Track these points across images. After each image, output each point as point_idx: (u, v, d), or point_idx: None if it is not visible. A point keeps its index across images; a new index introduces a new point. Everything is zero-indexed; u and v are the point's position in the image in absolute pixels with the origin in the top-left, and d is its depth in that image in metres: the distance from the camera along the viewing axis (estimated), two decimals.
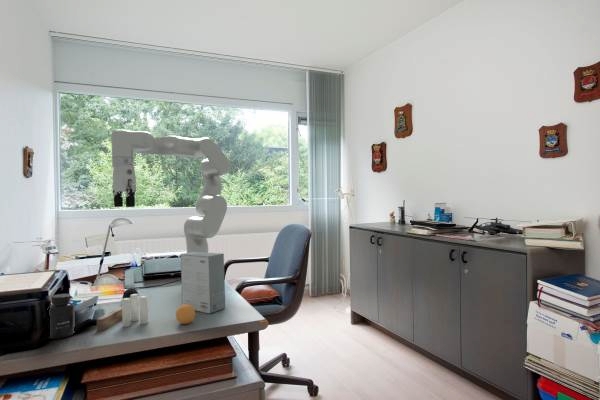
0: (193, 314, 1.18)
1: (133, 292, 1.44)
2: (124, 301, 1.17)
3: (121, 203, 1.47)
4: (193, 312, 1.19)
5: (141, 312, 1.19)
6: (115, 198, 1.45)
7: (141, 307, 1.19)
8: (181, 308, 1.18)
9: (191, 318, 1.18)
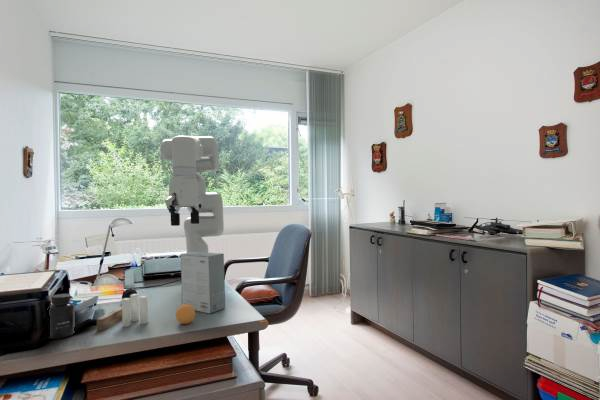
0: (193, 314, 1.18)
1: (132, 292, 1.44)
2: (124, 301, 1.17)
3: None
4: (193, 312, 1.19)
5: (141, 312, 1.19)
6: None
7: (141, 307, 1.19)
8: (181, 308, 1.18)
9: (191, 318, 1.18)
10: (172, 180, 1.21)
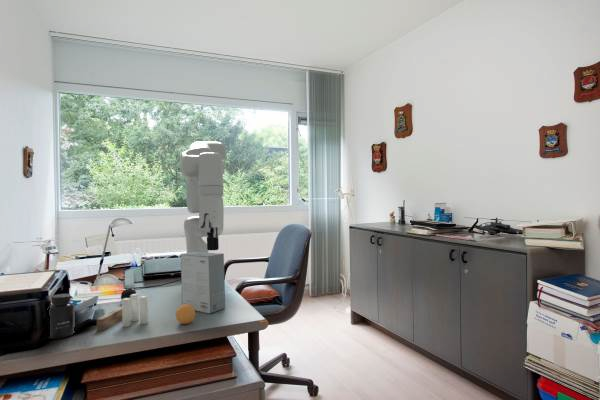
0: (193, 314, 1.18)
1: (131, 292, 1.44)
2: (124, 301, 1.17)
3: None
4: (193, 312, 1.19)
5: (141, 312, 1.19)
6: None
7: (141, 307, 1.19)
8: (181, 308, 1.18)
9: (191, 318, 1.18)
10: (203, 199, 1.13)
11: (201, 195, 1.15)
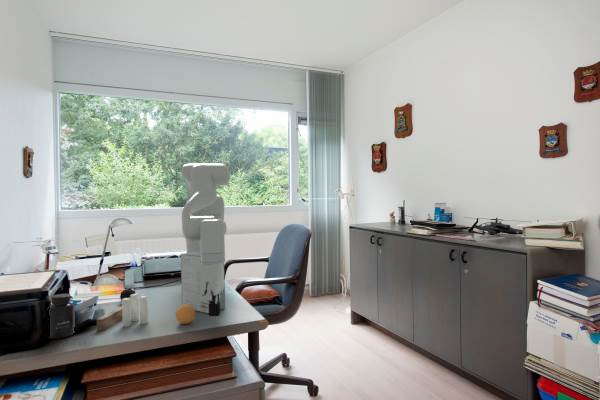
0: (193, 314, 1.18)
1: (130, 292, 1.44)
2: (124, 301, 1.17)
3: None
4: (193, 312, 1.19)
5: (141, 312, 1.19)
6: None
7: (141, 307, 1.19)
8: (181, 308, 1.18)
9: (191, 318, 1.18)
10: (205, 268, 1.14)
11: (203, 262, 1.15)
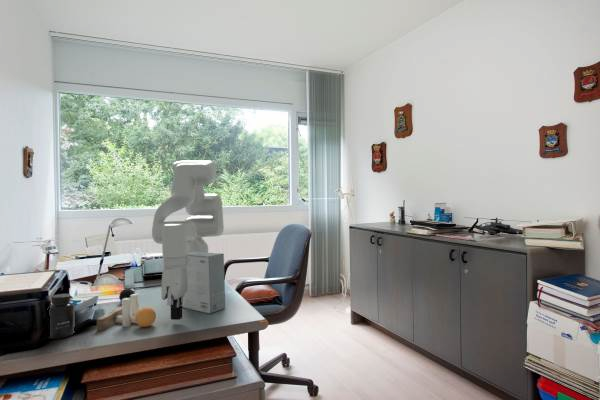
0: None
1: (129, 292, 1.43)
2: (124, 301, 1.17)
3: None
4: None
5: None
6: None
7: None
8: (151, 323, 1.17)
9: (136, 322, 1.16)
10: (166, 272, 1.15)
11: (164, 267, 1.16)
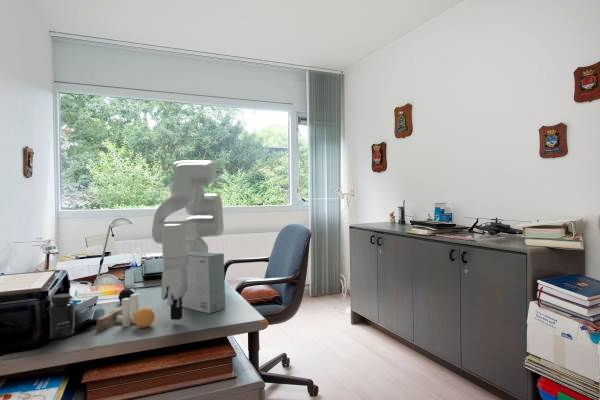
0: None
1: (129, 292, 1.43)
2: (124, 301, 1.17)
3: None
4: None
5: None
6: None
7: None
8: (151, 323, 1.17)
9: (136, 324, 1.16)
10: (166, 272, 1.15)
11: (164, 267, 1.16)
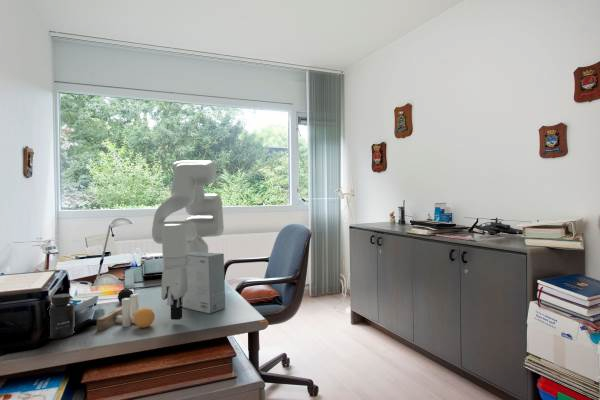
0: None
1: (128, 292, 1.43)
2: (124, 301, 1.17)
3: None
4: None
5: None
6: None
7: None
8: (151, 323, 1.17)
9: (136, 324, 1.16)
10: (166, 272, 1.15)
11: (164, 267, 1.16)
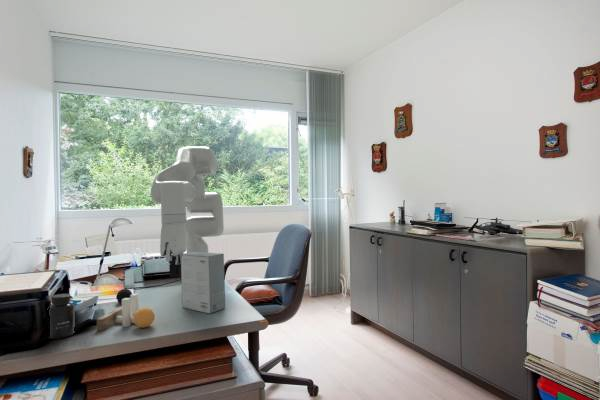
0: None
1: (126, 292, 1.43)
2: (124, 301, 1.17)
3: None
4: None
5: None
6: None
7: None
8: (151, 323, 1.17)
9: (136, 324, 1.16)
10: (164, 228, 1.15)
11: (163, 223, 1.16)
